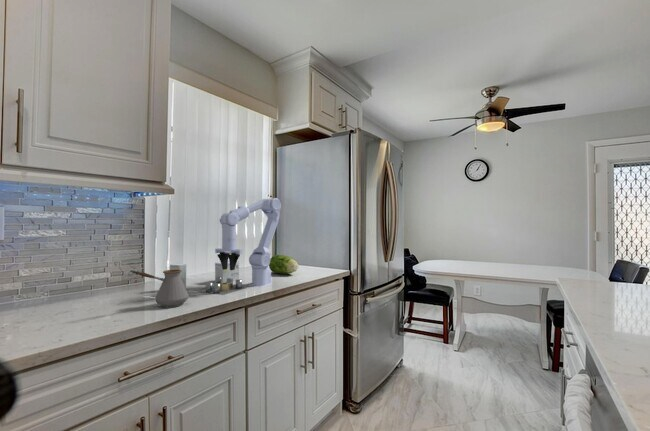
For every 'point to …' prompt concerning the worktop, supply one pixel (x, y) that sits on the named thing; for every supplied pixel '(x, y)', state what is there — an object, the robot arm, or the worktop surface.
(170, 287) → the coffee pot
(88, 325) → the worktop surface
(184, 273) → the skincare box
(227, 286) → the nut
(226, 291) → the mat
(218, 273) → the light bulb box
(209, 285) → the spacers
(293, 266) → the lettuce
